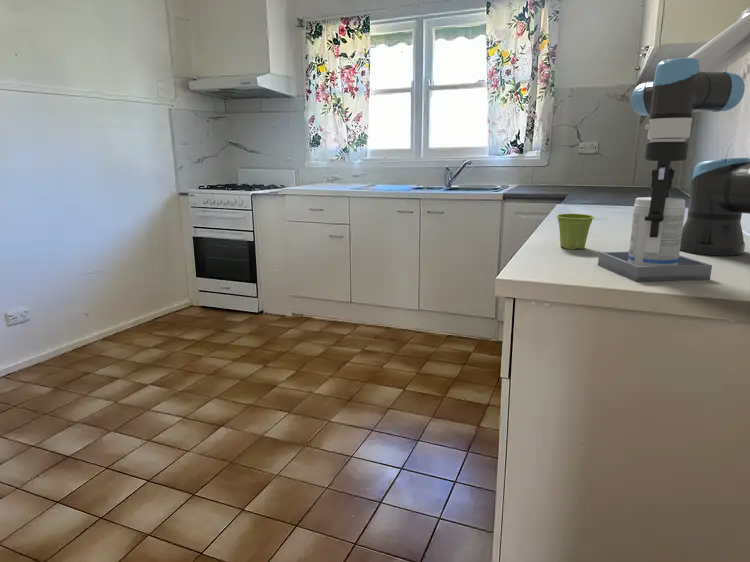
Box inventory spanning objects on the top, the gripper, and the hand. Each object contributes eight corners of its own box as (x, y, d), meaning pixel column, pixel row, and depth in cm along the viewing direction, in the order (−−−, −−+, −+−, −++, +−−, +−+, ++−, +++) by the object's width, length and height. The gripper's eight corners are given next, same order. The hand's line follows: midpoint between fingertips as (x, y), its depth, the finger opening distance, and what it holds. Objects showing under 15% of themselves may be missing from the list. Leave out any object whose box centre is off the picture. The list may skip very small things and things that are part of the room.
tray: (662, 263, 120) (664, 250, 119) (709, 279, 105) (712, 265, 104) (597, 264, 119) (599, 252, 118) (636, 281, 103) (638, 267, 103)
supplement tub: (685, 268, 110) (696, 199, 106) (661, 273, 105) (672, 201, 101) (641, 260, 118) (650, 195, 114) (617, 265, 113) (626, 197, 109)
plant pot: (587, 252, 133) (590, 218, 131) (549, 248, 138) (552, 216, 136) (594, 246, 141) (597, 214, 138) (558, 243, 146) (561, 212, 143)
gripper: (650, 141, 116) (639, 238, 122) (641, 140, 97) (628, 255, 103) (689, 141, 112) (675, 241, 118) (687, 140, 94) (671, 259, 99)
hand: (653, 248), depth 110 cm, fingers open, 10 cm apart
